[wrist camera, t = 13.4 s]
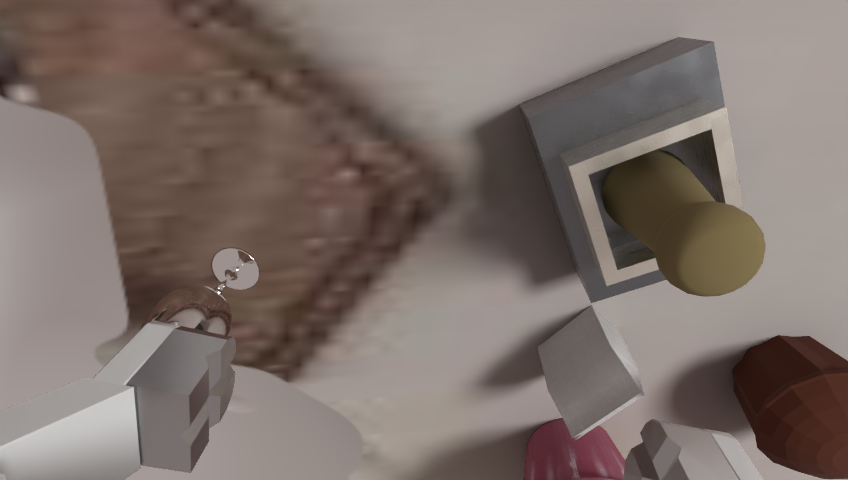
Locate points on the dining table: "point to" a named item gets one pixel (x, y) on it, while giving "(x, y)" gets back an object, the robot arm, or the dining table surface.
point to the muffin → (797, 404)
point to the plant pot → (572, 455)
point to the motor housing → (629, 150)
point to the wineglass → (208, 295)
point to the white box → (589, 371)
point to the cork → (684, 224)
